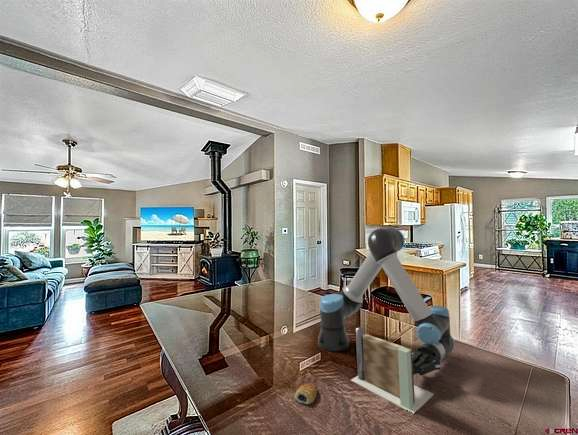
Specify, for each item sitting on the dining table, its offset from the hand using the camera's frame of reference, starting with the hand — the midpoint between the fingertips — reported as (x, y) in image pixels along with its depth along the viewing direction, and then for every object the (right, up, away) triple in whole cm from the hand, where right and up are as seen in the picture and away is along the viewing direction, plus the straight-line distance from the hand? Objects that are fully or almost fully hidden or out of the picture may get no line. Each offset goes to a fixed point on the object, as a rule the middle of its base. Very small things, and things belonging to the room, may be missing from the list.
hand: (400, 375), depth 90 cm
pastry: (-32, -9, +2) cm, 33 cm away
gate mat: (-2, -7, +5) cm, 9 cm away
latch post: (0, -7, -5) cm, 8 cm away
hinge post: (-10, -8, +11) cm, 17 cm away
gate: (-3, -6, +3) cm, 8 cm away
